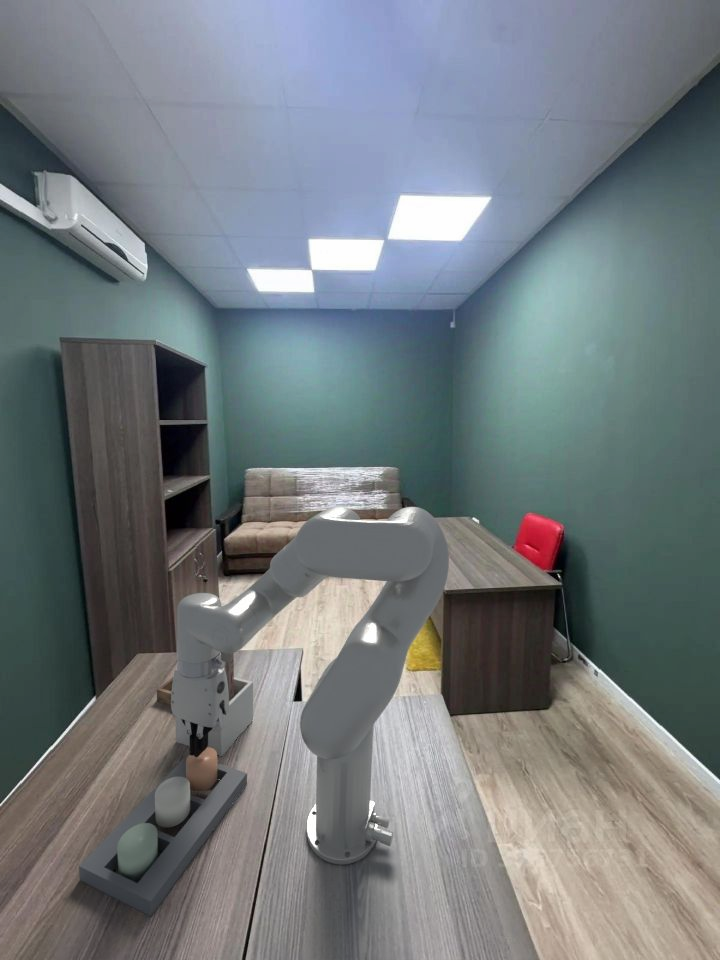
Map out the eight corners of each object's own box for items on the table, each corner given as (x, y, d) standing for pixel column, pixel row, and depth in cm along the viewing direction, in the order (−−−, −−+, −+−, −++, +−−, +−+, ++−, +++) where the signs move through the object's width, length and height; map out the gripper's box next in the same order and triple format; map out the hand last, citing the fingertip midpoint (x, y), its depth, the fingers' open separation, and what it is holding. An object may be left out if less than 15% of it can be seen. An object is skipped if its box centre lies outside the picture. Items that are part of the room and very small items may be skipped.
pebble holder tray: (246, 784, 83) (246, 773, 83) (151, 916, 60) (150, 901, 60) (189, 764, 87) (188, 753, 87) (79, 880, 65) (78, 865, 65)
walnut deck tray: (232, 682, 115) (232, 672, 115) (199, 713, 103) (199, 702, 102) (193, 672, 119) (192, 662, 119) (156, 700, 107) (156, 689, 106)
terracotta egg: (223, 772, 82) (223, 751, 82) (204, 795, 77) (204, 773, 77) (200, 763, 84) (199, 743, 84) (179, 786, 79) (179, 765, 78)
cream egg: (197, 804, 75) (196, 782, 75) (174, 832, 70) (173, 808, 70) (172, 794, 77) (171, 772, 77) (147, 821, 72) (147, 798, 71)
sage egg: (165, 853, 69) (165, 829, 68) (137, 888, 63) (136, 863, 63) (139, 841, 70) (138, 818, 70) (109, 874, 65) (108, 850, 65)
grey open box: (252, 720, 101) (253, 681, 100) (221, 756, 90) (221, 713, 88) (211, 708, 105) (210, 670, 103) (176, 741, 93) (175, 700, 92)
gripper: (245, 660, 79) (243, 748, 81) (181, 643, 83) (181, 727, 86) (220, 682, 72) (219, 778, 74) (151, 662, 76) (152, 753, 79)
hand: (198, 750), depth 80 cm, fingers closed
